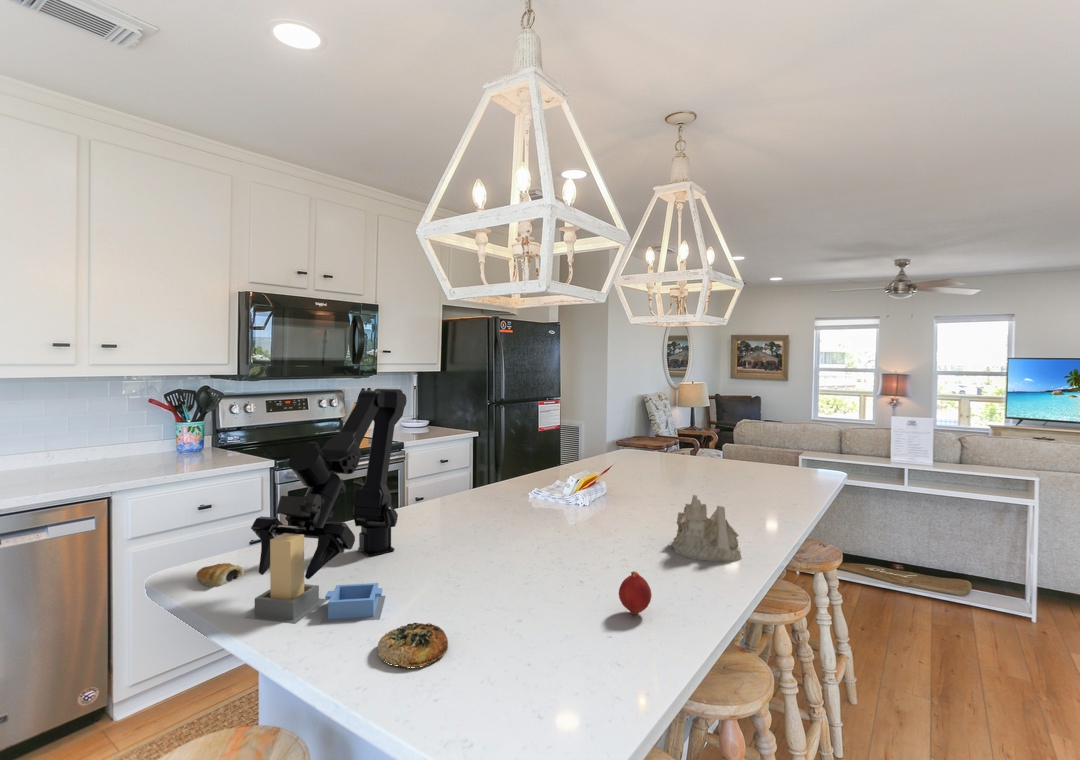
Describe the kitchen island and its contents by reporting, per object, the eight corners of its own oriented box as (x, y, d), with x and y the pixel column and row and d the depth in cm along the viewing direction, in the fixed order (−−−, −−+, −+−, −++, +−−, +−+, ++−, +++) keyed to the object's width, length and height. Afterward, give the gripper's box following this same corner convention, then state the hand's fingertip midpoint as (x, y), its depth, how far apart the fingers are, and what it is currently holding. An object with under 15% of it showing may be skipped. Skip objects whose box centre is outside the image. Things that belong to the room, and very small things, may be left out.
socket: (280, 597, 108) (280, 579, 107) (328, 602, 106) (328, 583, 106) (243, 621, 98) (243, 600, 98) (295, 626, 96) (295, 606, 96)
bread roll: (452, 633, 94) (451, 606, 93) (443, 679, 83) (441, 649, 82) (386, 636, 94) (383, 609, 93) (368, 683, 83) (365, 652, 82)
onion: (629, 604, 107) (629, 562, 106) (656, 613, 103) (657, 570, 103) (612, 614, 102) (613, 571, 102) (640, 624, 98) (641, 579, 98)
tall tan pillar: (284, 602, 104) (284, 533, 104) (304, 604, 103) (304, 534, 103) (270, 611, 100) (270, 539, 100) (290, 614, 99) (290, 541, 99)
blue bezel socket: (330, 601, 106) (331, 582, 106) (385, 598, 108) (385, 580, 108) (319, 626, 96) (319, 605, 96) (379, 622, 98) (379, 602, 98)
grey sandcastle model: (742, 564, 128) (741, 498, 129) (669, 558, 134) (668, 494, 134) (741, 547, 143) (739, 488, 144) (675, 542, 148) (674, 485, 149)
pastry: (186, 583, 114) (186, 565, 114) (216, 572, 121) (216, 554, 120) (219, 591, 111) (219, 572, 111) (248, 579, 117) (249, 561, 117)
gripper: (257, 474, 107) (213, 550, 96) (347, 479, 103) (311, 559, 93) (284, 505, 115) (246, 579, 104) (368, 511, 111) (337, 588, 101)
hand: (283, 576), depth 100 cm, fingers open, 9 cm apart
